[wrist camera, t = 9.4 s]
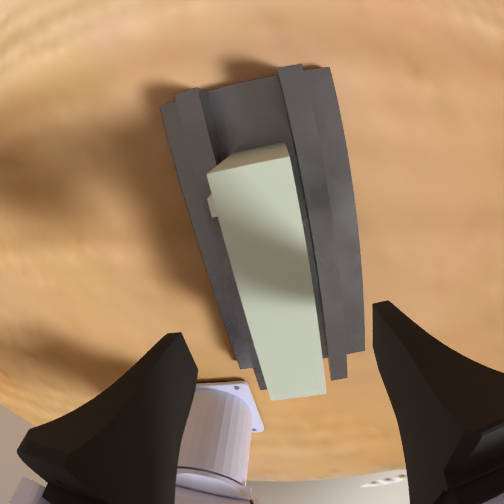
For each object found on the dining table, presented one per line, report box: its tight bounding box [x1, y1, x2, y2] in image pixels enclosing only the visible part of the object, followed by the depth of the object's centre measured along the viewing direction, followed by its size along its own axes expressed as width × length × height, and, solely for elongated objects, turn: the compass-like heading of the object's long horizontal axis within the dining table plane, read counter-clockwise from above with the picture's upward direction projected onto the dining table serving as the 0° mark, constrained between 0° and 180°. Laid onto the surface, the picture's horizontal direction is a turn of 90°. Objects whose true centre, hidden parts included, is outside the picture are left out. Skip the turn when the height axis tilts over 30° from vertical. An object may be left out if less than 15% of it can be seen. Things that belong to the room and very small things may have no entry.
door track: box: [160, 64, 365, 390], centre depth 19 cm, size 20×10×3 cm, turn 13°
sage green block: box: [207, 142, 326, 400], centre depth 16 cm, size 12×4×7 cm, turn 13°
